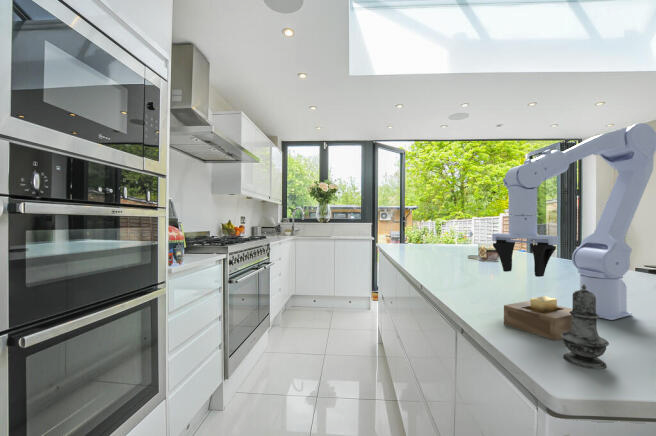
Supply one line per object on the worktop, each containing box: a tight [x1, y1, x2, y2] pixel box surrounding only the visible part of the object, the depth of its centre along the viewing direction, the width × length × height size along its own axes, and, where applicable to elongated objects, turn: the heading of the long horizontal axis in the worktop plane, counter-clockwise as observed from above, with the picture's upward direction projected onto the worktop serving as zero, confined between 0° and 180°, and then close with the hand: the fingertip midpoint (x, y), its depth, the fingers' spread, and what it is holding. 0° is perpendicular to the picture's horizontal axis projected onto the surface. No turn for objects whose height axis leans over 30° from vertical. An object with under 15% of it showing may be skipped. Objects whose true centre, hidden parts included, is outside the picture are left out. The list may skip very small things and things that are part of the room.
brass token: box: [530, 295, 558, 313], centre depth 65 cm, size 4×2×6 cm, turn 115°
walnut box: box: [503, 300, 573, 341], centre depth 65 cm, size 10×10×4 cm
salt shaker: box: [561, 285, 610, 370], centre depth 50 cm, size 6×6×12 cm
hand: (522, 273), depth 75 cm, fingers open, 7 cm apart
